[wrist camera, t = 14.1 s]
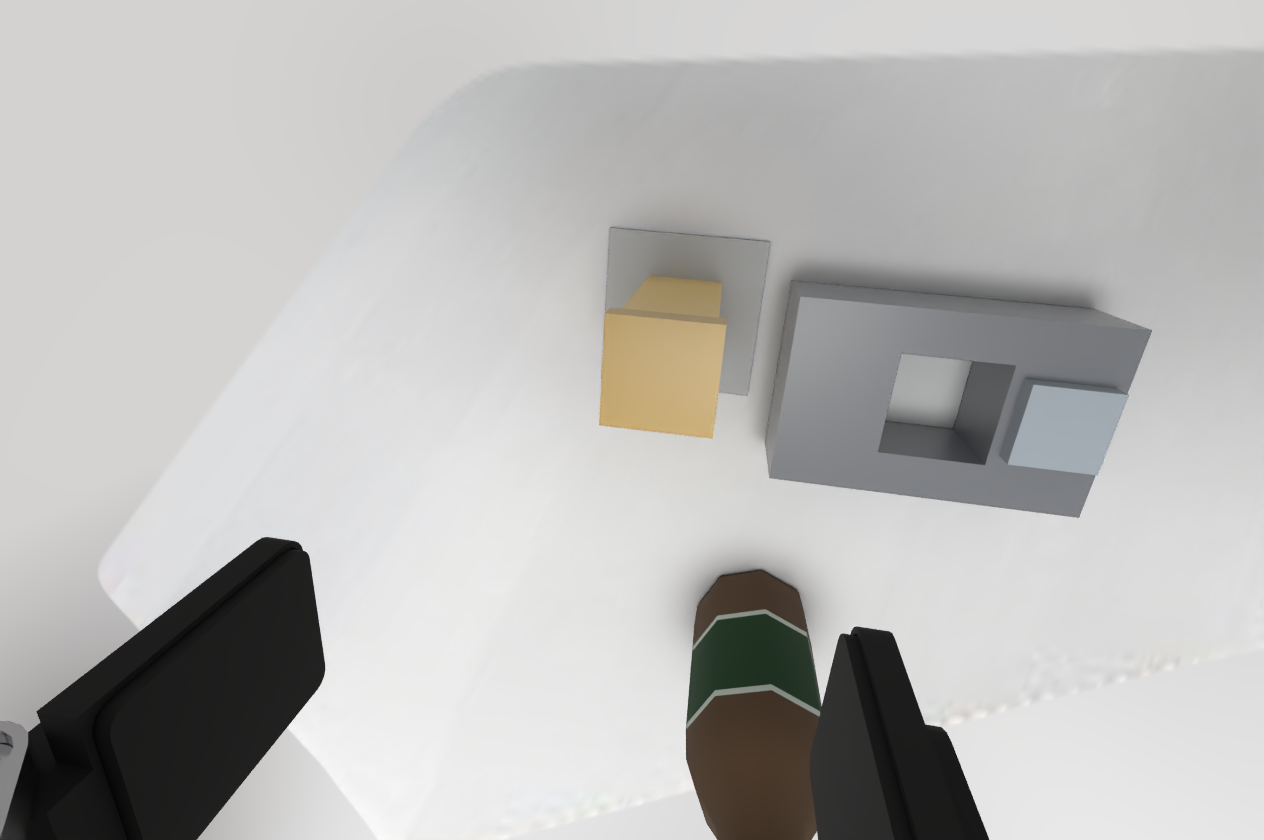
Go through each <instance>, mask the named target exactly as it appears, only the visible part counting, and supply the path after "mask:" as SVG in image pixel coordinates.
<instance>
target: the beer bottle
mask: <svg viewBox="0 0 1264 840" xmlns="http://www.w3.org/2000/svg"><path fill="white" fill-rule="evenodd" d="M821 708H822V706H821V700H820V694H819V688H818V683H817V677H816V671H815V665H814V659H813V653H812V647H811V642H810V638H809V634H808V629H807V625H806V620H805V616H804V612H803V607H802V604H801V600H800V596H799V592H798V591H796V590H795V589H793V588H791V587H789V586H788V585H786V584H784V583H782V582H781V581H779V580H777V579H775V578H774V577H772V576H770V575H768V574H767V573H765V572H763V571H754V572H748V573H741V574H734V575H727V576H721V577H720V578H719V579H718V581H717V582H716V583H715V584H714V586H713V587H712V588H711V590H710V591H709V592H708V593H707V595H706V596H705V597H704V599H703V600H702V601H701V603H700V604H699V605H698V606H697V612H696V618H695V624H694V637H693V649H692V661H691V673H690V686H689V698H688V710H687V722H686V760H687V763H688V767H689V770H690V773H691V776H692V780H693V783H694V786H695V790H696V793H697V795H698V798H699V802H700V805H701V807H702V810H703V814H704V817H705V820H706V823H707V825H708V826H709V828H710V829H711V831H712V832H713V834H714V835H715V837H716V838H717V840H812V838H813V836H814V834H815V833H816V832H817V826H816V818H815V810H814V803H813V795H812V787H811V780H810V754H811V749H812V745H813V741H814V737H815V733H816V729H817V725H818V720H819V716H820V712H821Z"/></svg>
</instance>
